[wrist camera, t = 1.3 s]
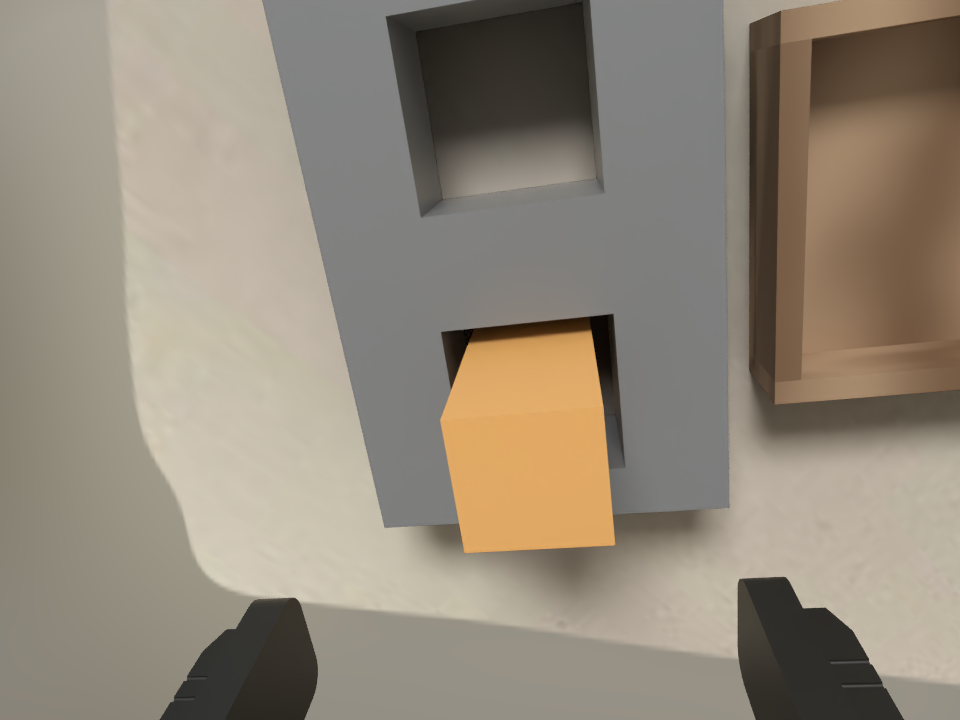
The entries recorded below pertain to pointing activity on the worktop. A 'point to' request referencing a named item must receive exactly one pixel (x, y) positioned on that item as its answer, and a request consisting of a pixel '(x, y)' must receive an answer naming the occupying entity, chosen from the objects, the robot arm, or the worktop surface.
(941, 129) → the tray
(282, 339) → the worktop surface
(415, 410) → the cinder block
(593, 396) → the plug
